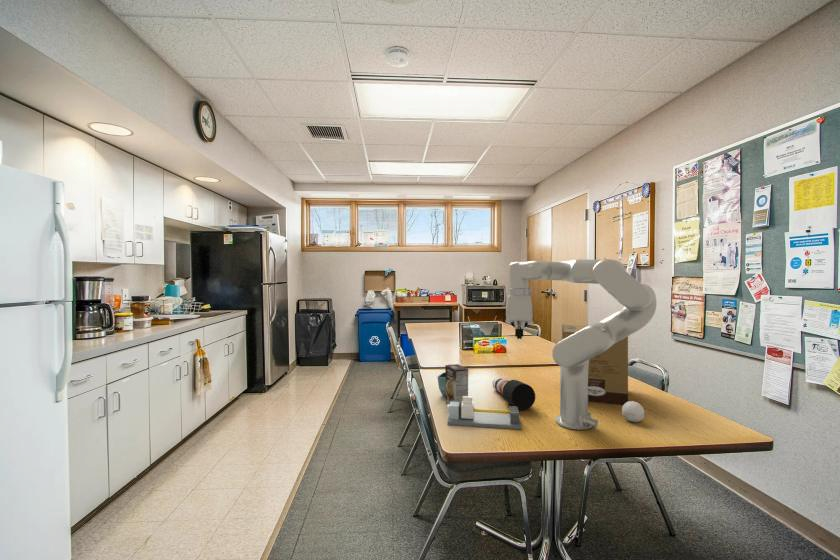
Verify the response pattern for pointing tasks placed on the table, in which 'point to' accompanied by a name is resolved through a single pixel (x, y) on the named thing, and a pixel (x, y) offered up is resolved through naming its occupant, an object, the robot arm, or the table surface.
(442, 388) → the flower pot
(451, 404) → the connector
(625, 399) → the cardboard box
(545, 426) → the table surface
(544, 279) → the robot arm
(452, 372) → the coffee box
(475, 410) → the fibre cord
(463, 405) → the sleeve
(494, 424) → the board
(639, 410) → the white textured egg
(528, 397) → the black cylinder
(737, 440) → the table surface
